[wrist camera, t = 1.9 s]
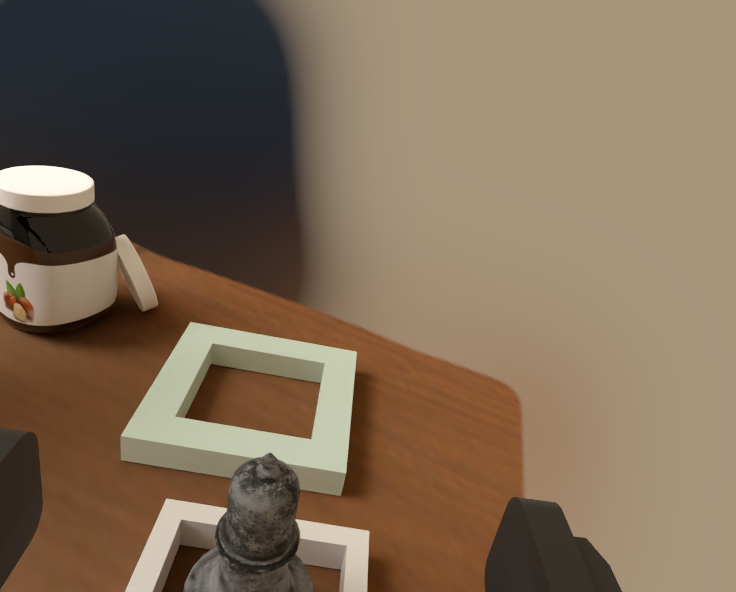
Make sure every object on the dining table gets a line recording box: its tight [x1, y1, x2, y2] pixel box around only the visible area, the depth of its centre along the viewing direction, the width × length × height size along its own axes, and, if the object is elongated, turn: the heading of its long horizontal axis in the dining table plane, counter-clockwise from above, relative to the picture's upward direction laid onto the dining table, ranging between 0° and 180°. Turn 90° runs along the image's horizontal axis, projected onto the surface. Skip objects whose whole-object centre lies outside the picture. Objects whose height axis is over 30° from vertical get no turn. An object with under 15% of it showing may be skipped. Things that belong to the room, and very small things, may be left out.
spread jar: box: [0, 166, 158, 334], centre depth 47 cm, size 12×11×12 cm
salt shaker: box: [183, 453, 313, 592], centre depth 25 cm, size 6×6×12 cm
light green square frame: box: [121, 322, 357, 496], centre depth 42 cm, size 14×14×2 cm
